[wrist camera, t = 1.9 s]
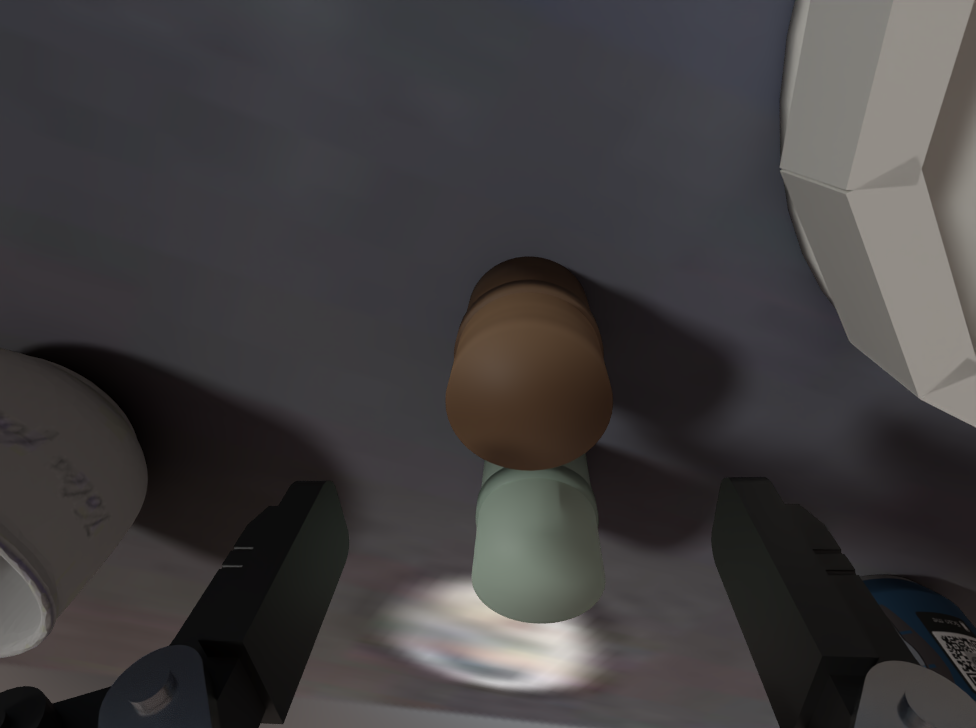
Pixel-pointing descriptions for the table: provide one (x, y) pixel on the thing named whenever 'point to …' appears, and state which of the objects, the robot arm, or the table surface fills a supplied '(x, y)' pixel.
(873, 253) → the ring tray
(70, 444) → the teacup
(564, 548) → the sage bead
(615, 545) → the table surface
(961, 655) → the soda can
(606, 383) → the walnut bead
